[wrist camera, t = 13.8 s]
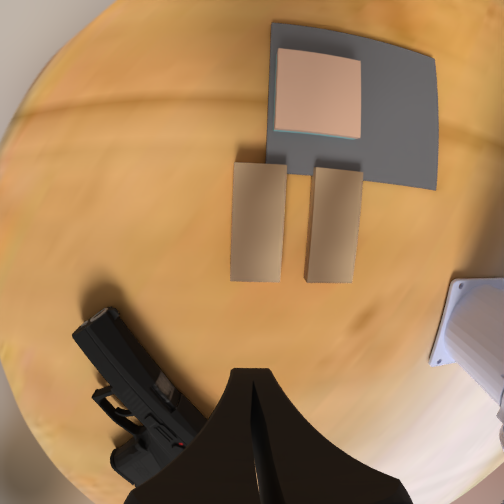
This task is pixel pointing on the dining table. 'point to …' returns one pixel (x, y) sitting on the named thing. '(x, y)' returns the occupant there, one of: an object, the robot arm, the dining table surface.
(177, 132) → the dining table surface
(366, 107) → the mat
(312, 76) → the tile
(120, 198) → the dining table surface
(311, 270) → the tile rack
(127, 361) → the handgun
